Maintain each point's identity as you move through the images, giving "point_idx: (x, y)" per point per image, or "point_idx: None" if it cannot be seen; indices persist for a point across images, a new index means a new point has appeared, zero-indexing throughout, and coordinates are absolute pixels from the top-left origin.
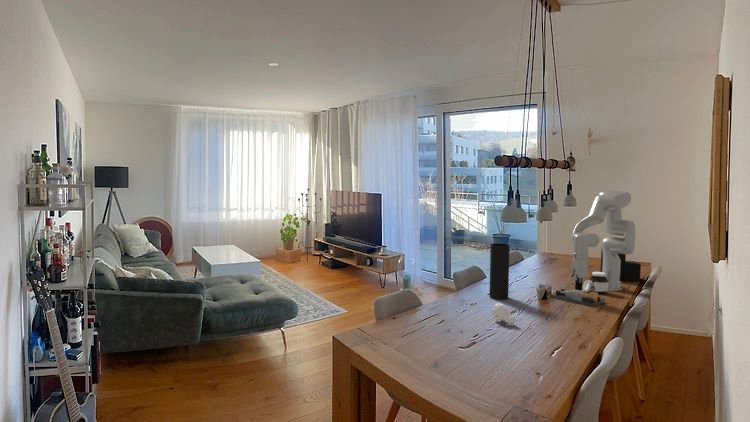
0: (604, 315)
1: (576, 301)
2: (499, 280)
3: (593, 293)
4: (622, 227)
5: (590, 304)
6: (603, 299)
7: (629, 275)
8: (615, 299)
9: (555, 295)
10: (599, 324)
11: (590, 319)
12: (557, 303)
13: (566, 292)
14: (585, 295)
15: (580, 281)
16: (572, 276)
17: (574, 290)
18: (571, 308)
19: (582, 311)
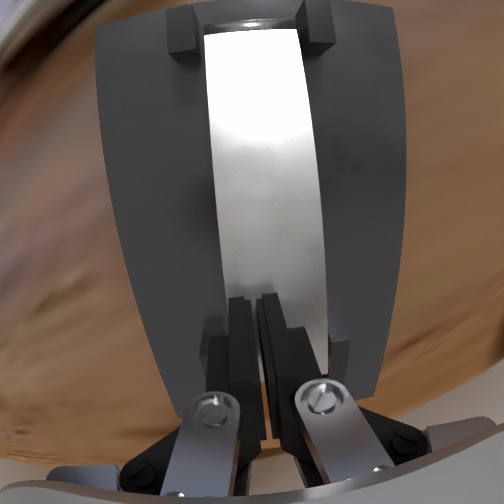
0: (121, 457)
1: (143, 314)
2: None
3: (272, 438)
4: None
5: (174, 403)
6: (372, 388)
7: None
8: (470, 358)
9: (111, 71)
10: (39, 454)
11: (36, 434)
12: (15, 219)
13: (213, 140)
14: None
15: (240, 474)
16: (106, 492)
17: (277, 241)
18: (34, 341)
19: (60, 395)
